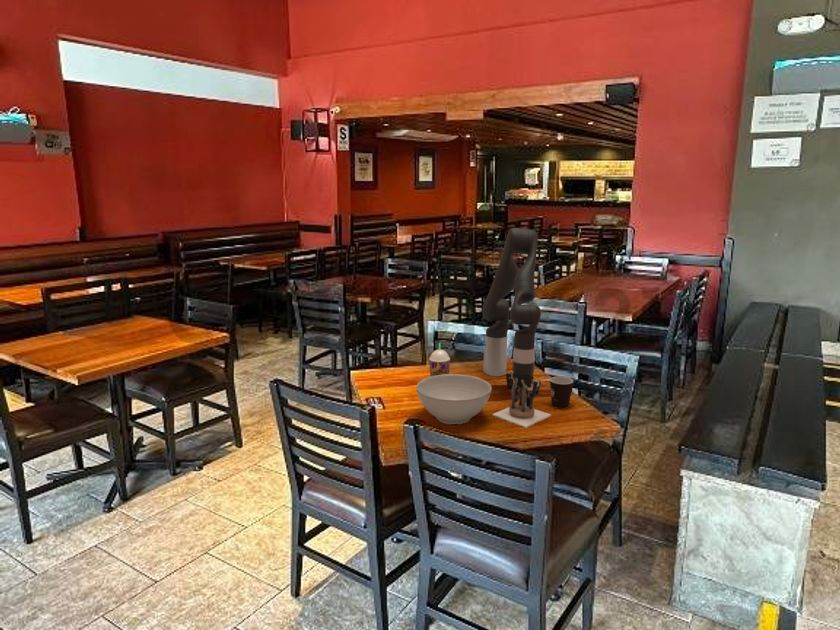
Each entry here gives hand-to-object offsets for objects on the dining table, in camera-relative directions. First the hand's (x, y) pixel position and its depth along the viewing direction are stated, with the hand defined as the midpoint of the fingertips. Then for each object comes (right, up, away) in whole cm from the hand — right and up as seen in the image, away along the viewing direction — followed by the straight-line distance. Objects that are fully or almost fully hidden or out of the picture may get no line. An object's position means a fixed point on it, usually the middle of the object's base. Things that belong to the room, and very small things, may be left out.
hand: (522, 403), depth 215 cm
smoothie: (-29, +1, +27) cm, 39 cm away
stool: (0, -3, +1) cm, 3 cm away
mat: (0, -4, +1) cm, 5 cm away
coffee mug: (+17, -2, +12) cm, 21 cm away
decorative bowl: (-25, -5, 0) cm, 25 cm away
